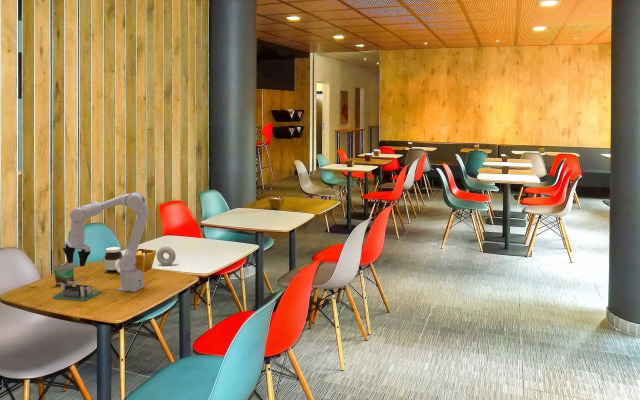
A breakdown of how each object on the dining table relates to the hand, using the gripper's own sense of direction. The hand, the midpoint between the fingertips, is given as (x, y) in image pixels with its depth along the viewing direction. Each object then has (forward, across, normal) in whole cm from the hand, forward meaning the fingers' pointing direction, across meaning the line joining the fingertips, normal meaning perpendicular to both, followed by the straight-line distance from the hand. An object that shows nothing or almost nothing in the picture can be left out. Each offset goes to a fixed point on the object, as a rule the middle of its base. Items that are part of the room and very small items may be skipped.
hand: (76, 264), depth 266 cm
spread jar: (+11, -8, +33) cm, 36 cm away
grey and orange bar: (+6, +6, -4) cm, 9 cm away
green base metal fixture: (+12, +6, -4) cm, 14 cm away
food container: (+13, -13, +8) cm, 20 cm away
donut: (+9, +6, +53) cm, 54 cm away
